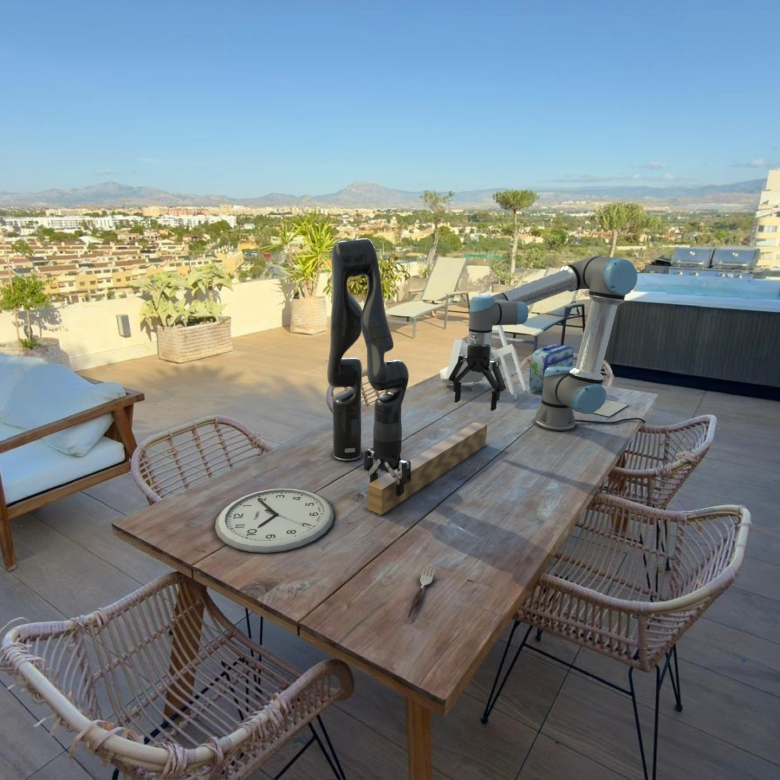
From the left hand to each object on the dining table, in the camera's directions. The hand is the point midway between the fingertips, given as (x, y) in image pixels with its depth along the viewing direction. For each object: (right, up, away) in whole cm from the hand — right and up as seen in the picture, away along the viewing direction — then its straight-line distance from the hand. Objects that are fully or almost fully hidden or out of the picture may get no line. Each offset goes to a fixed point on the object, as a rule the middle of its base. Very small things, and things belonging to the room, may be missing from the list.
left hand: (386, 490), depth 142 cm
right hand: (+30, +22, +34) cm, 50 cm away
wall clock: (-29, -6, -7) cm, 30 cm away
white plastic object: (+43, +26, +101) cm, 112 cm away
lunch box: (+77, +28, +108) cm, 135 cm away
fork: (+7, -15, -34) cm, 38 cm away
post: (+15, +2, +20) cm, 25 cm away
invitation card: (+92, +20, +84) cm, 126 cm away
